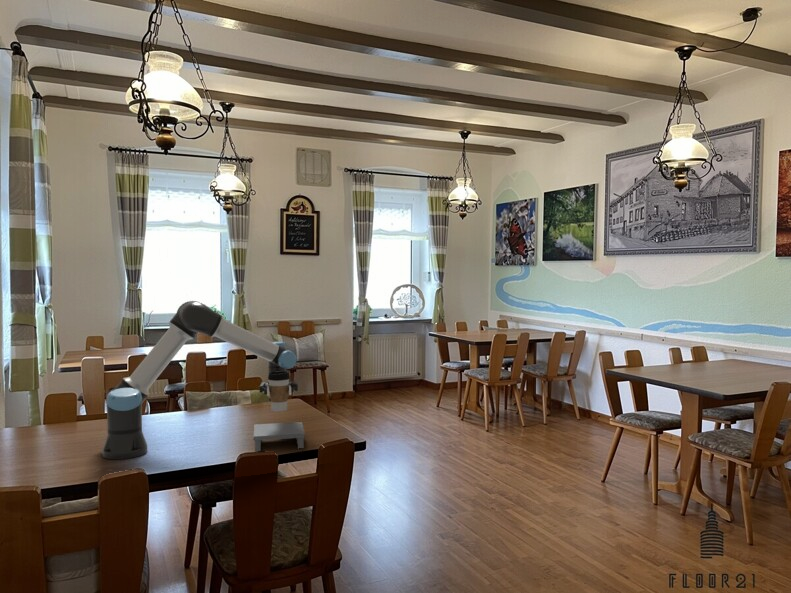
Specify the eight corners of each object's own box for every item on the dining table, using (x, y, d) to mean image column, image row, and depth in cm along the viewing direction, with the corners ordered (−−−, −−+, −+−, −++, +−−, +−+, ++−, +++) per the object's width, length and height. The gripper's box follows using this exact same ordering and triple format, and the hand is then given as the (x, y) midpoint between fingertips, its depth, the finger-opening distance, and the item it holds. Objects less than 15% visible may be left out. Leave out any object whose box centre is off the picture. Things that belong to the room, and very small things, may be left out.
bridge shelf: (253, 452, 216) (253, 436, 216) (254, 439, 234) (254, 424, 233) (304, 449, 220) (304, 433, 220) (301, 436, 238) (301, 421, 238)
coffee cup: (285, 413, 222) (284, 374, 221) (264, 411, 223) (264, 373, 223) (293, 408, 230) (293, 370, 229) (273, 407, 232) (273, 369, 231)
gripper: (302, 389, 246) (306, 400, 224) (252, 391, 242) (251, 403, 219) (302, 371, 246) (306, 381, 224) (252, 373, 241) (251, 383, 219)
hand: (279, 392), depth 222 cm, fingers closed on coffee cup, 8 cm apart
